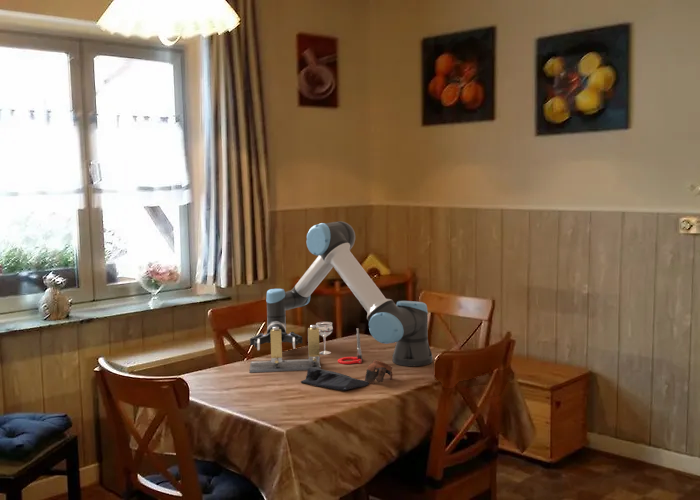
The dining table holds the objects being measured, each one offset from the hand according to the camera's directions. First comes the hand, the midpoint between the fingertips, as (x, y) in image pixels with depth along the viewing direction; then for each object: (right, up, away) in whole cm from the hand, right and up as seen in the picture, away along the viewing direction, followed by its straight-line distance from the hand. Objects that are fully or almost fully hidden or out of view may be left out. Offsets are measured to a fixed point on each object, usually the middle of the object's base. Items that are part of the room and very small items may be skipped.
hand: (276, 345), depth 279 cm
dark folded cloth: (+22, -11, -17) cm, 30 cm away
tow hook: (+27, -8, +10) cm, 30 cm away
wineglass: (+17, -6, +24) cm, 30 cm away
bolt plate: (+3, -8, +5) cm, 10 cm away
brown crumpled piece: (+37, -11, -16) cm, 42 cm away
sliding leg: (0, -7, +3) cm, 7 cm away
